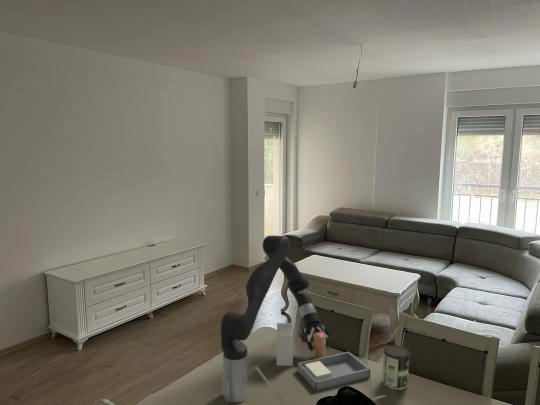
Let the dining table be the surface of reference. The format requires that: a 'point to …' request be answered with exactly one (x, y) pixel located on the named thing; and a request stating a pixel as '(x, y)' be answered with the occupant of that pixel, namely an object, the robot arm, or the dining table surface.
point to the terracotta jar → (319, 345)
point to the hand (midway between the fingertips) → (320, 348)
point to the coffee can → (395, 367)
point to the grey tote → (336, 370)
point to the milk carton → (284, 344)
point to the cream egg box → (318, 370)
